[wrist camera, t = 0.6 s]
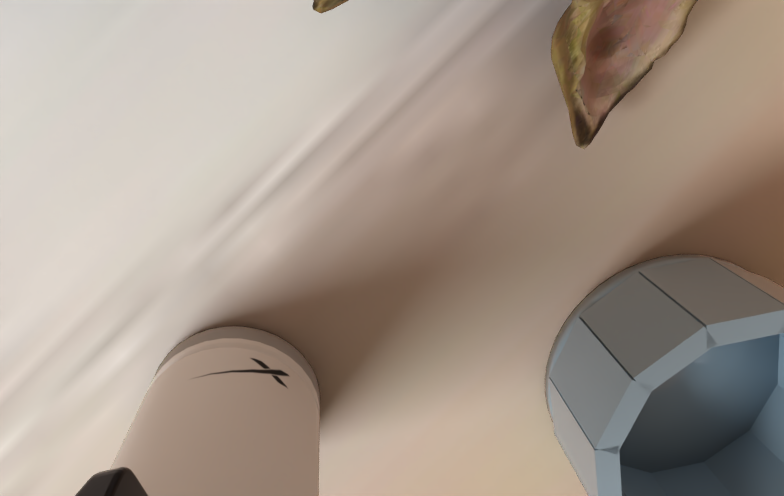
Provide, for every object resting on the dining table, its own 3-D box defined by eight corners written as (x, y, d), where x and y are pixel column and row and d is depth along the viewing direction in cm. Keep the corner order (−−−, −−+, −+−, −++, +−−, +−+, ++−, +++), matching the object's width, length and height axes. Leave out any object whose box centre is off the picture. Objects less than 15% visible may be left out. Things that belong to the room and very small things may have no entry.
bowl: (709, 495, 29) (789, 595, 24) (505, 441, 27) (547, 538, 22) (830, 297, 26) (950, 363, 21) (613, 220, 24) (688, 273, 19)
